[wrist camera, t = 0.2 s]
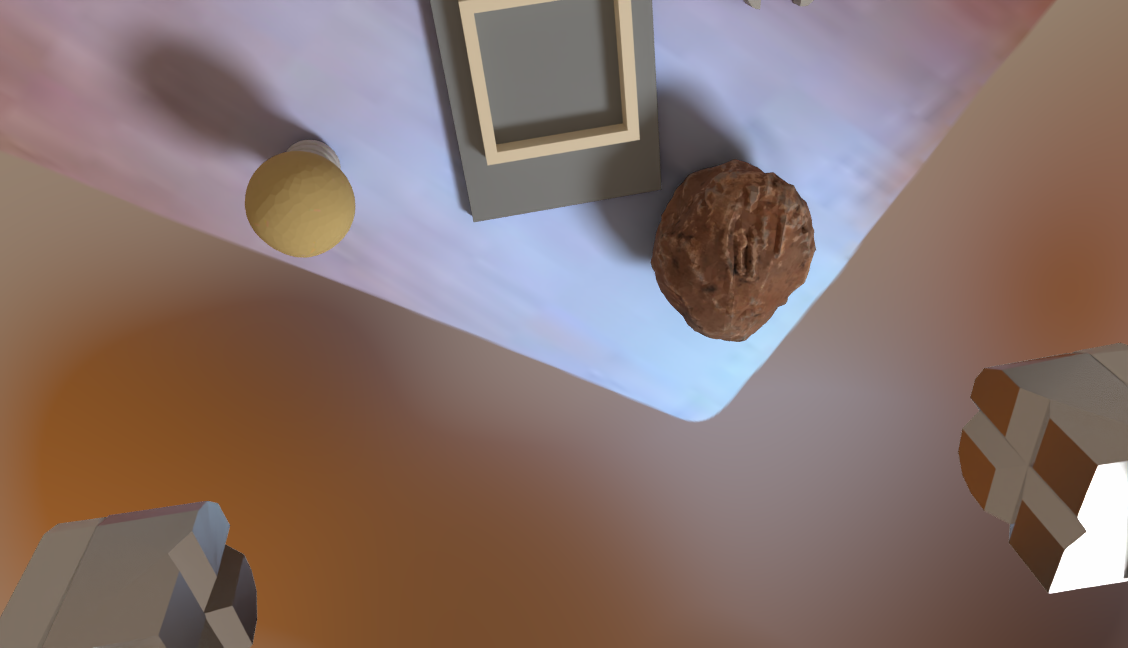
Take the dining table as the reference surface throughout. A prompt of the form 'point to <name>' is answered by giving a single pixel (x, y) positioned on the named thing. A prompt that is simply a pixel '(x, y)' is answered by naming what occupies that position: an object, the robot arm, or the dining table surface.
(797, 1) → the adjustable wrench
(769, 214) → the decorative rock
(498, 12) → the board
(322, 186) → the light bulb
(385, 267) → the dining table surface
